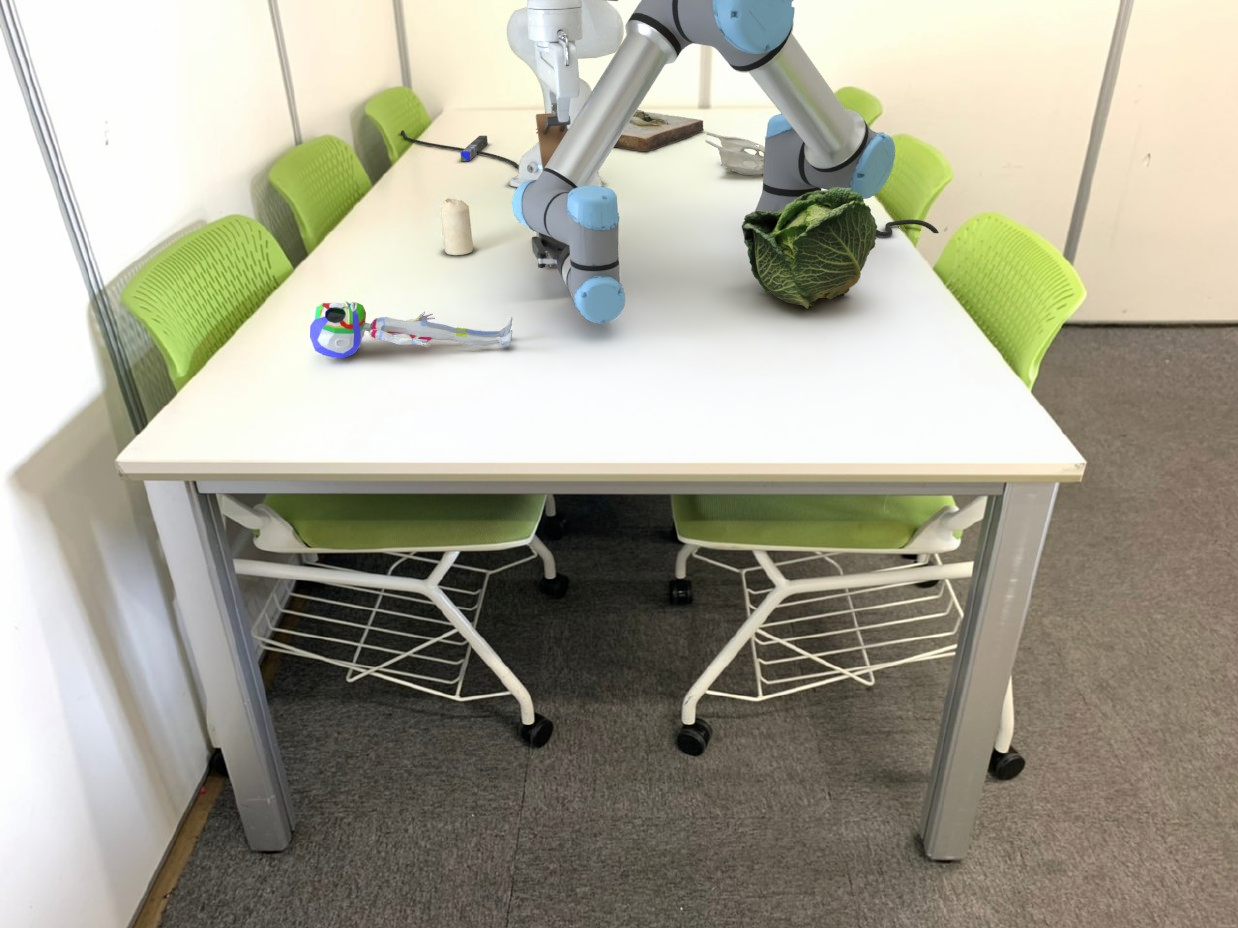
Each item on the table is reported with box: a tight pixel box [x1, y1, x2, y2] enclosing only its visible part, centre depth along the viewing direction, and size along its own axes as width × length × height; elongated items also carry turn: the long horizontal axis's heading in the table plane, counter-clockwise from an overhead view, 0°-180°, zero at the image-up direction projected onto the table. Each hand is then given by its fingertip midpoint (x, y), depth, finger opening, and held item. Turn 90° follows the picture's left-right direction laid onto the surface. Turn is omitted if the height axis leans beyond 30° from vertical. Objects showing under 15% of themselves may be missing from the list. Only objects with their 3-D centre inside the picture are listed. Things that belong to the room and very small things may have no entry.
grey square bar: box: [460, 135, 489, 162], centre depth 244 cm, size 2×2×20 cm
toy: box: [307, 300, 513, 360], centre depth 136 cm, size 10×8×30 cm
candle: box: [439, 198, 474, 256], centre depth 173 cm, size 6×6×10 cm
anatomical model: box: [705, 131, 765, 176], centre depth 220 cm, size 15×9×25 cm
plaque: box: [613, 109, 705, 152], centre depth 257 cm, size 30×7×30 cm
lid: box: [535, 113, 571, 172], centre depth 158 cm, size 17×5×9 cm
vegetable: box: [741, 187, 878, 310], centre depth 148 cm, size 20×19×20 cm
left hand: (559, 118), depth 151 cm, fingers open, 5 cm apart
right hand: (559, 228), depth 168 cm, fingers closed on chest, 5 cm apart
